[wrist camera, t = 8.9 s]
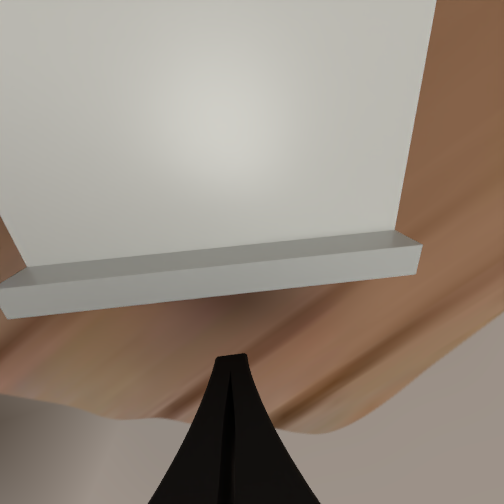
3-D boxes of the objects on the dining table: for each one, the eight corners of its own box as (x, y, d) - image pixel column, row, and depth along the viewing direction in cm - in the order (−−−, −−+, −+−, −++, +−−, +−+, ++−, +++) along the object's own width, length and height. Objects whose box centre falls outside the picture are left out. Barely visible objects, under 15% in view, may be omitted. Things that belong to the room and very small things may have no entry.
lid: (49, 286, 10) (7, 319, 8) (-227, -268, 5) (-530, -541, 3) (382, 251, 11) (415, 274, 9) (469, -265, 5) (597, -483, 4)
